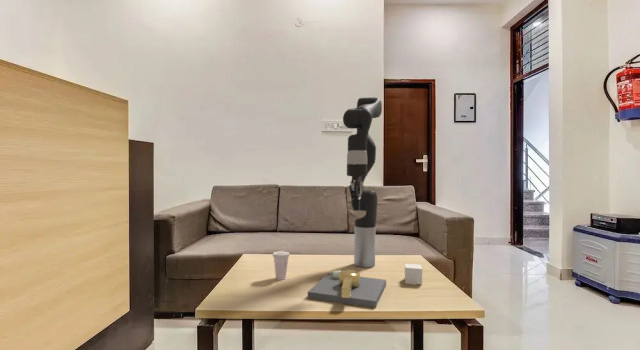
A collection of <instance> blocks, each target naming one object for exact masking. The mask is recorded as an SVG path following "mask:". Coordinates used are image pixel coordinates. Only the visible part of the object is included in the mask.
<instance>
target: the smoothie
mask: <svg viewBox="0 0 640 350" xmlns="http://www.w3.org/2000/svg"><path fill="white" fill-rule="evenodd" d="M272 257H273V261H274V262H273V263H274V273H275V279H276V281H277V280H279V281H282V280H286V278H287V272H288V262H289V257H290V252H288V251H284V241H281V250H279V251H275V252H273V253H272Z"/></svg>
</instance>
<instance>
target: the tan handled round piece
mask: <svg viewBox="0 0 640 350" xmlns="http://www.w3.org/2000/svg"><path fill="white" fill-rule="evenodd" d="M340 271H341V272H339V285H340V286H341V287H342V298H350V294H351V289H352V288H357V287H359V286H360V277H361V274H360V272H359V271H356V270H349V269H347V270H340Z"/></svg>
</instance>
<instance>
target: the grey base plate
mask: <svg viewBox="0 0 640 350" xmlns="http://www.w3.org/2000/svg"><path fill="white" fill-rule="evenodd" d="M341 271H342V270H333V271H332V272H331V273H330V272H329V273H327V274H326V275H325V276H324V277H323V278H322V279H320V280H319V281H318V282H317V283H316V284H314V286H313V287H311V288H310V290H308V291H307V299H311V300H312V299H313V300H319V301H326V302H335V303H338V304H339V303H340V304H347V305H353V306H354V305H355V306H361V307H367V308H373V309H375V308H377V305H378V303H379V302H380V299H381V298H382V295H383V293H384V291H385V289H386V287H387V279H381V278H373V277H365V276H360V286H359V287H357V288H352V289H351V294H350V298H342V287H341V286H340V285H339V272H341Z"/></svg>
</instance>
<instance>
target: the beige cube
mask: <svg viewBox="0 0 640 350" xmlns="http://www.w3.org/2000/svg"><path fill="white" fill-rule="evenodd" d="M404 283H407V284H406V285H416V284H422V285H423V267H422V264H415V263H405V264H404Z"/></svg>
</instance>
